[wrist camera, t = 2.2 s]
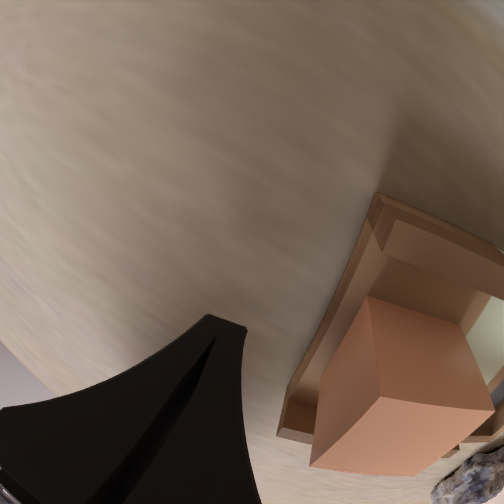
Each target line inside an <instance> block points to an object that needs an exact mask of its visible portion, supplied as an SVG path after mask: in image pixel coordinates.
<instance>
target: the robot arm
mask: <svg viewBox="0 0 504 504" xmlns="http://www.w3.org/2000/svg"><path fill="white" fill-rule="evenodd" d="M246 335H247V329H246V327H244V326H241V325H238V324H235V323H233V322H230V321H227V320H224V319H221V318H219V317H216V316H213V315H211V314H207V315H205V316H204V317H203V318H202V319H200V320H199V321H198V322H197V323H196V324H195V325H193V326H192V327H191V328H190V329H189V330H187V331H186V332H185V333H183V334H182V335H181V336H180V337H178V338H177V339H175V340H174V341H173V342H171V343H170V344H168V345H167V346H166V347H164V348H163V349H161V350H160V351H158V352H157V353H155V354H154V355H152V356H150V357H149V358H147V359H145V360H144V361H142V362H141V363H139V364H137V365H135V366H134V367H132V368H130V369H128V370H126V371H124V372H122V373H120V374H118V375H116V376H114V377H112V378H110V379H108V380H106V381H103V382H101V383H98V384H96V385H93V386H91V387H89V388H86V389H83V390H80V391H77V392H74V393H71V394H68V395H64V396H61V397H57V398H53V399H50V400H46V401H41V402H36V403H31V404H24V405H18V406H11V407H4V408H2V409H1V410H0V504H262V503H261V500H260V497H259V494H258V490H257V486H256V483H255V479H254V475H253V471H252V467H251V463H250V458H249V453H248V448H247V442H246V436H245V429H244V421H243V411H242V395H241V367H242V354H243V346H244V341H245V338H246ZM3 489H4V490H5V491H6V492H7V493H8V494H9V495H10V496H9V495H8V494H6V493H5V492H3ZM12 497H13V498H12Z"/></svg>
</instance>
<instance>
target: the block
mask: <svg viewBox="0 0 504 504" xmlns="http://www.w3.org/2000/svg"><path fill="white" fill-rule="evenodd" d="M494 412H495V408H494V405H493V402H492V399H491V397H490V394H489V391H488V389H487V386H486V383H485V381H484V378H483V376H482V373H481V371H480V369H479V366H478V364H477V361H476V359H475V357H474V355H473V352H472V350H471V348H470V346H469V344H468V342H467V339H466V337H465V335H464V333H463V331H462V329H461V327H460V325H458V324H455V323H452V322H448V321H445V320H442V319H439V318H436V317H433V316H430V315H426V314H423V313H420V312H417V311H414V310H411V309H408V308H404V307H401V306H398V305H395V304H392V303H389V302H386V301H383V300H379V299H376V298H373V297H370V296H366V298H365V300H364V301H363V303H362V305H361V307H360V309H359V311H358V313H357V315H356V317H355V318H354V320H353V322H352V324H351V326H350V328H349V329H348V331H347V333H346V335H345V337H344V338H343V340H342V342H341V343H340V345H339V347H338V349H337V350H336V352H335V354H334V355H333V357H332V359H331V360H330V362H329V364H328V365H327V367H326V368H325V370H324V372H323V373H322V375H321V377H320V387H319V397H318V406H317V414H316V423H315V430H314V438H313V445H312V451H311V458H310V464H309V466H311V467H316V468H322V469H328V470H335V471H342V472H350V473H360V474H371V475H386V476H414V475H416V474H417V473H419V472H420V471H422V470H423V469H425V468H426V467H428V466H429V465H431V464H432V463H434V462H435V461H437V460H438V459H439V458H441V457H442V456H443V455H445V454H446V453H448V452H449V451H450V450H451V449H453V448H454V447H455V446H457V445H458V444H459V443H460V442H462V441H463V440H464V439H465V438H466V437H468V436H469V435H470V434H471V433H472V432H473V431H475V430H476V429H477V428H478V427H479V426H480V425H481V424H482V423H484V422H485V421H486V420H487V419H488V418H489V417H490V416H491V415H492V414H493V413H494Z"/></svg>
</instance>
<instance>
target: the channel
mask: <svg viewBox="0 0 504 504" xmlns="http://www.w3.org/2000/svg"><path fill="white" fill-rule="evenodd" d="M366 296H370V297H373V298H376V299H379V300H383V301H386V302H389V303H392V304H395V305H398V306H401V307H404V308H408V309H411V310H414V311H417V312H420V313H423V314H426V315H430V316H433V317H436V318H439V319H442V320H445V321H448V322H452V323H455V324H458V325H460V327H461V329H462V331H463V333H464V335H465V337H466V339H467V342H468V344H469V346H470V348H471V350H472V352H473V355H474V357H475V359H476V361H477V364H478V366H479V369H480V371H481V373H482V376H483V378H484V381H485V383H486V386H487V389H488V391H489V394H490V397H491V399H492V402H493V405H494V408H495V412H494V413H493V414H492V415H491V416H490V417H489V418H488V419H487V420H486V421H485V422H484V423H482V424H481V425H480V426H479V427H478V428H477V429H476V430H475V431H473V432H472V433H471V434H470V435H469V436H468V437H466V438H465V439H464V440H463V441H462V442H460V443H476V442H490V441H491V440H493V439H494V438H495V437H496V436H497V435H499V434H500V433H501V432H502V431H503V430H504V251H503V250H501V249H499V248H498V247H496V246H494V245H492V244H490V243H488V242H486V241H484V240H483V239H481V238H479V237H477V236H475V235H473V234H471V233H469V232H467V231H465V230H463V229H461V228H458V227H456V226H454V225H452V224H450V223H448V222H446V221H444V220H441V219H439V218H437V217H435V216H433V215H430V214H428V213H426V212H424V211H421V210H419V209H417V208H414V207H412V206H409V205H407V204H405V203H402V202H400V201H397V200H395V199H392V198H390V197H387V196H385V195H382V194H380V193H377V192H376V194H375V196H374V199H373V202H372V205H371V207H370V210H369V213H368V215H367V218H366V221H365V223H364V226H363V228H362V231H361V234H360V236H359V239H358V241H357V244H356V246H355V248H354V251H353V253H352V256H351V258H350V260H349V263H348V265H347V267H346V270H345V272H344V274H343V277H342V279H341V281H340V283H339V286H338V288H337V290H336V292H335V295H334V297H333V299H332V301H331V303H330V305H329V307H328V310H327V312H326V314H325V316H324V318H323V320H322V322H321V324H320V326H319V328H318V330H317V332H316V334H315V336H314V338H313V340H312V342H311V344H310V346H309V348H308V350H307V352H306V354H305V356H304V358H303V359H302V361H301V363H300V365H299V367H298V369H297V371H296V372H295V374H294V376H293V378H292V380H291V382H290V383H289V385H288V387H287V389H286V394H285V399H284V403H283V408H282V412H281V417H280V421H279V425H278V429H277V434H276V436H277V437H281V438H285V439H289V440H293V441H298V442H302V443H307V444H311V445H313V438H314V430H315V423H316V414H317V406H318V397H319V387H320V377H321V375H322V373H323V372H324V370H325V368H326V367H327V365H328V364H329V362H330V360H331V359H332V357H333V355H334V354H335V352H336V350H337V349H338V347H339V345H340V343H341V342H342V340H343V338H344V337H345V335H346V333H347V331H348V329H349V328H350V326H351V324H352V322H353V320H354V318H355V317H356V315H357V313H358V311H359V309H360V307H361V305H362V303H363V301H364V300H365V298H366ZM459 450H460V449H459V444H458V445H457V446H455V447H454V448H453V449H451V450H450V451H449V452H448V453H446V454H445V455H443V456H442V457H441V458H449V457H451V456H452V455H453V454H455V453H456V452H457V451H459Z"/></svg>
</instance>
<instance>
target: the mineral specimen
mask: <svg viewBox="0 0 504 504" xmlns="http://www.w3.org/2000/svg"><path fill="white" fill-rule="evenodd" d="M503 487H504V447H502V448H500V449H499V450H497V451H495V452H494V453H490V454H488V455H487V454H482V453H478V454H475V455H474V457H473V459H470V460H466V461H464V463H463V464H462V466H461V467H460V468H459V469H458V470H457V471H455V474H454V475H453V476H451V477H449V478H448V479H446V480H444V481H442V482H440V483H439V485H438V486H436V487H434V489H433V490H432V492H431V500H432V503H433V504H482V503H485V502H487V501H488V500H489V499H492V498H494V497H495V496H496V495H497V494H498V493H499V492H501V490H502V488H503Z"/></svg>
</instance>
